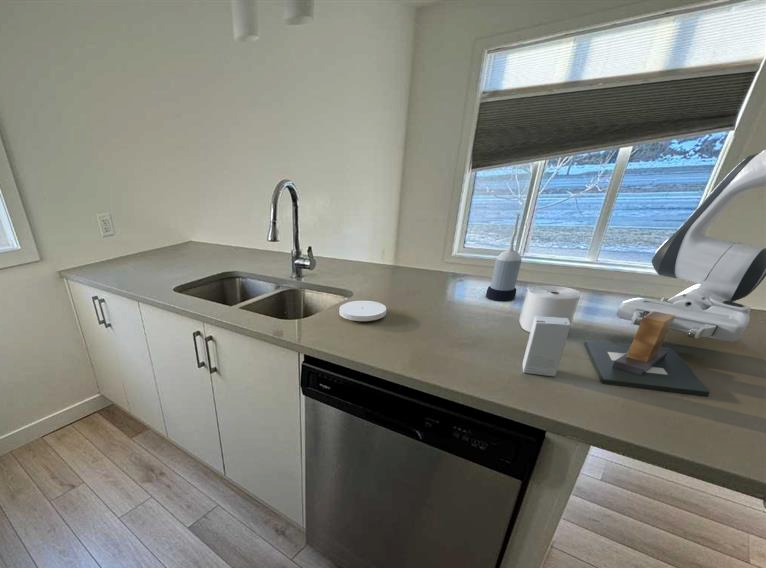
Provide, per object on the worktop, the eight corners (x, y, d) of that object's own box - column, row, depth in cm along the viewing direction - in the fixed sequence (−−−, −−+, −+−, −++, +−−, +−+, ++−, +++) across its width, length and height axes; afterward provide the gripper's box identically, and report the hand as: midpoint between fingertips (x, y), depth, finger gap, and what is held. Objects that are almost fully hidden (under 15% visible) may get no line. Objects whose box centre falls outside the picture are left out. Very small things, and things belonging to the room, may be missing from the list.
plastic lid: (384, 325, 117) (385, 317, 116) (336, 323, 122) (336, 315, 120) (386, 308, 129) (387, 301, 127) (342, 307, 133) (342, 300, 132)
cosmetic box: (552, 368, 89) (569, 317, 83) (555, 378, 86) (573, 325, 80) (520, 364, 92) (534, 314, 86) (521, 373, 88) (536, 322, 82)
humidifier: (491, 291, 134) (508, 211, 122) (518, 296, 129) (540, 212, 116) (481, 298, 130) (498, 215, 117) (509, 303, 124) (530, 216, 112)
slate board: (670, 351, 91) (672, 347, 91) (707, 396, 76) (710, 391, 75) (583, 343, 98) (585, 339, 97) (601, 383, 83) (603, 379, 82)
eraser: (665, 357, 87) (687, 311, 82) (641, 375, 82) (663, 327, 77) (636, 350, 91) (655, 306, 86) (611, 366, 86) (630, 320, 81)
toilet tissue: (564, 340, 100) (577, 301, 95) (510, 330, 108) (519, 293, 103) (572, 325, 107) (584, 289, 102) (520, 317, 114) (529, 282, 109)
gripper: (637, 288, 97) (610, 301, 91) (762, 308, 82) (739, 327, 76) (627, 312, 100) (600, 327, 94) (746, 337, 85) (723, 356, 79)
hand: (663, 327), depth 85 cm, fingers open, 8 cm apart
